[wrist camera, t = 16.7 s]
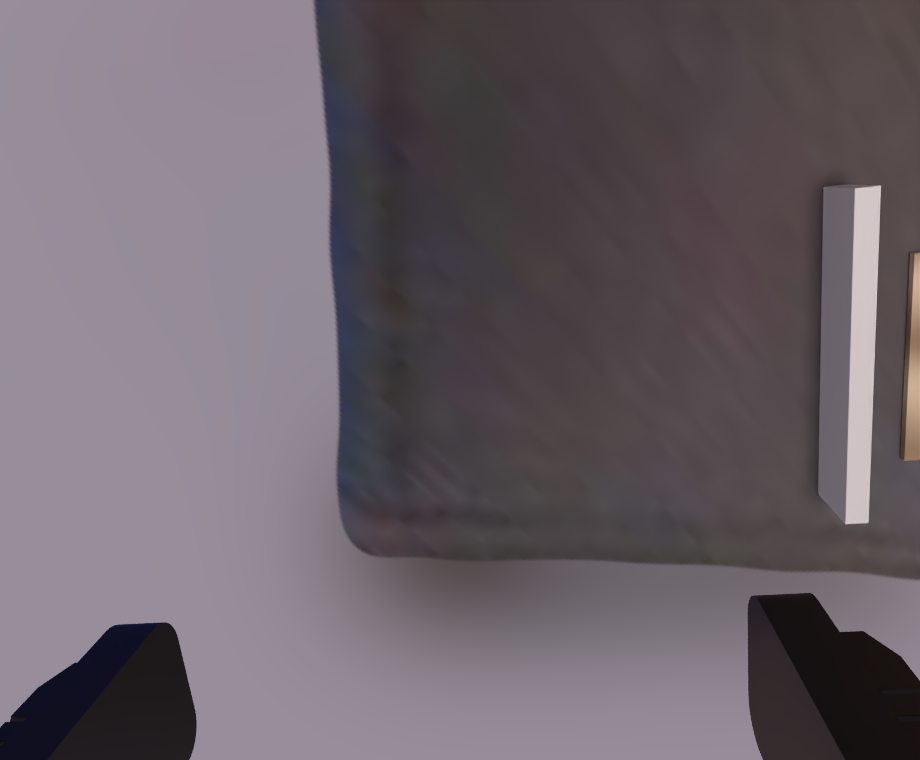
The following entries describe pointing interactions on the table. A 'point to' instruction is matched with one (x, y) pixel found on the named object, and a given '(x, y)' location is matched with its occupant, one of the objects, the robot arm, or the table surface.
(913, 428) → the pad
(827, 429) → the low wall
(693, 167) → the table surface
